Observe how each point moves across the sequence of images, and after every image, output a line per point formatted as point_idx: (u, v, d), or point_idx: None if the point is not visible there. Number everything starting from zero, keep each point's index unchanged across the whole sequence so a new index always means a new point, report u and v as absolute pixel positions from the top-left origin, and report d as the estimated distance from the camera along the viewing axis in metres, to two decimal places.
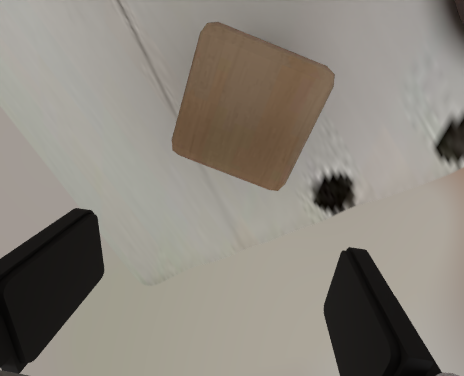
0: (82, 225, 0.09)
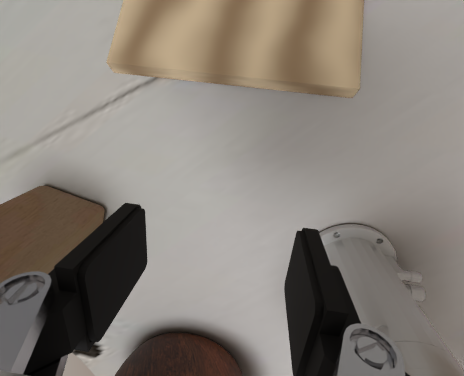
0: (135, 218, 0.09)
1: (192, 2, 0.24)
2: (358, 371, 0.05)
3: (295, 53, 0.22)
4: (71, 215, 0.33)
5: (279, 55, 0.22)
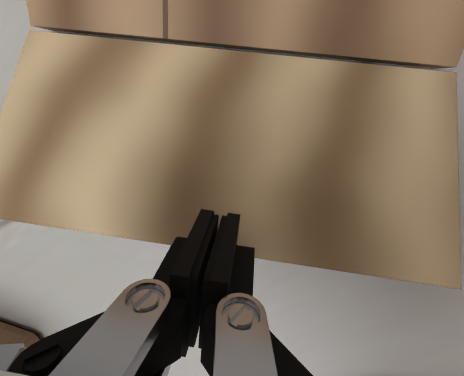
0: (215, 224, 0.10)
1: (134, 91, 0.13)
2: (232, 340, 0.05)
3: (328, 203, 0.11)
4: None
5: (296, 207, 0.11)
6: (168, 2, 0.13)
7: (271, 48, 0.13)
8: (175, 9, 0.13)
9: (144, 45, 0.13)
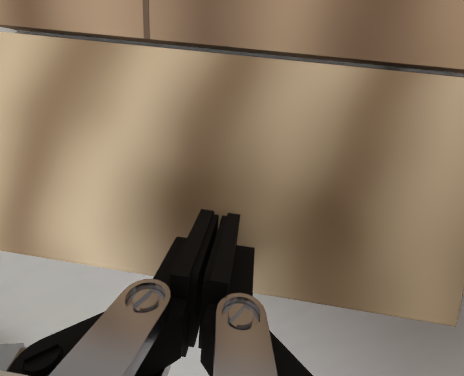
0: (215, 224, 0.10)
1: (118, 111, 0.11)
2: (232, 340, 0.05)
3: (331, 242, 0.11)
4: None
5: (298, 245, 0.11)
6: None
7: (277, 50, 0.11)
8: (158, 2, 0.10)
9: (122, 49, 0.11)
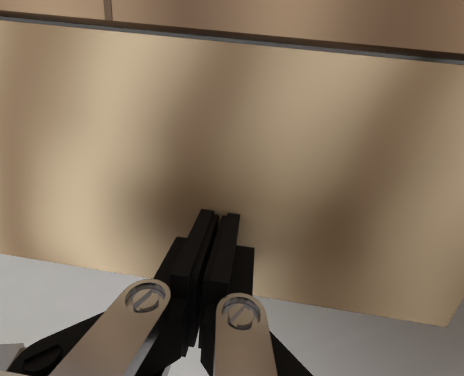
0: (215, 224, 0.10)
1: (91, 117, 0.10)
2: (232, 340, 0.05)
3: (332, 254, 0.10)
4: None
5: (297, 256, 0.11)
6: None
7: (280, 35, 0.08)
8: None
9: (81, 35, 0.09)
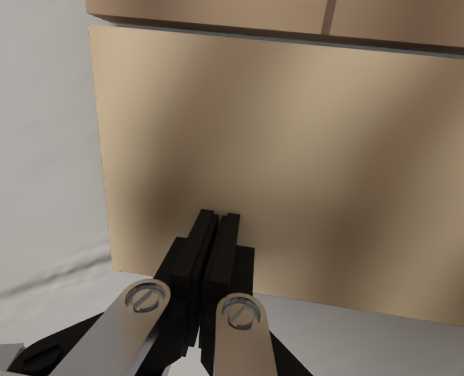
0: (215, 224, 0.10)
1: (275, 136, 0.09)
2: (232, 340, 0.05)
3: None
4: None
5: None
6: None
7: None
8: None
9: (287, 51, 0.08)
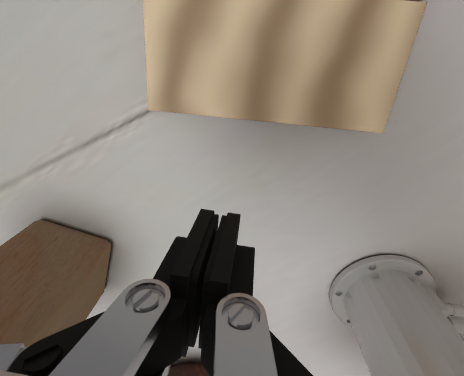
0: (215, 224, 0.10)
1: (222, 28, 0.21)
2: (232, 340, 0.05)
3: (329, 95, 0.23)
4: (75, 257, 0.29)
5: (313, 98, 0.23)
6: None
7: None
8: None
9: None
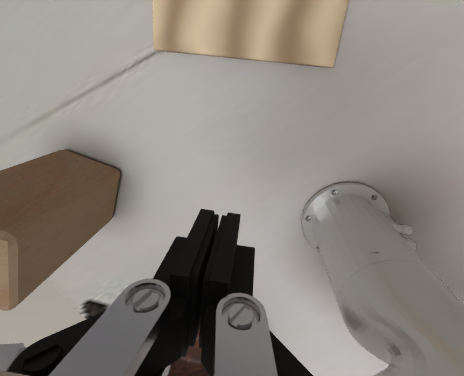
0: (215, 224, 0.10)
1: None
2: (232, 340, 0.05)
3: (290, 35, 0.30)
4: (91, 173, 0.36)
5: (278, 38, 0.30)
6: None
7: None
8: None
9: None
